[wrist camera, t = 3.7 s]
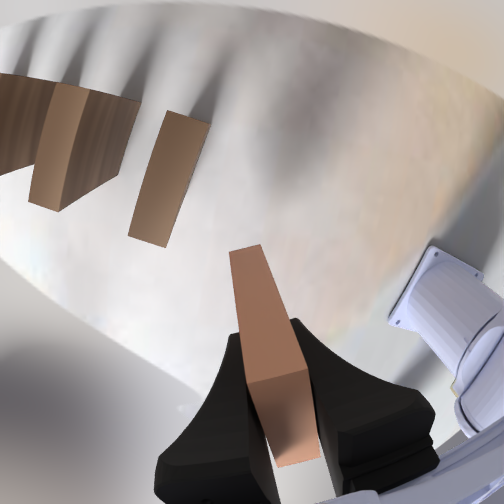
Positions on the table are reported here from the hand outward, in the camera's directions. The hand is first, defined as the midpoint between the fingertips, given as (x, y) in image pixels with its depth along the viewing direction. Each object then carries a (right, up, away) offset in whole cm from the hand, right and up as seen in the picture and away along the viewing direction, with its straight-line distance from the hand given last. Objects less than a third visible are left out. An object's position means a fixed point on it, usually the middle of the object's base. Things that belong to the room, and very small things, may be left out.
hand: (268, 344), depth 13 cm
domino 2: (-9, +11, +6) cm, 16 cm away
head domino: (-1, +2, +4) cm, 4 cm away
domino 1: (-14, +13, +4) cm, 19 cm away
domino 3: (-5, +10, +7) cm, 13 cm away
